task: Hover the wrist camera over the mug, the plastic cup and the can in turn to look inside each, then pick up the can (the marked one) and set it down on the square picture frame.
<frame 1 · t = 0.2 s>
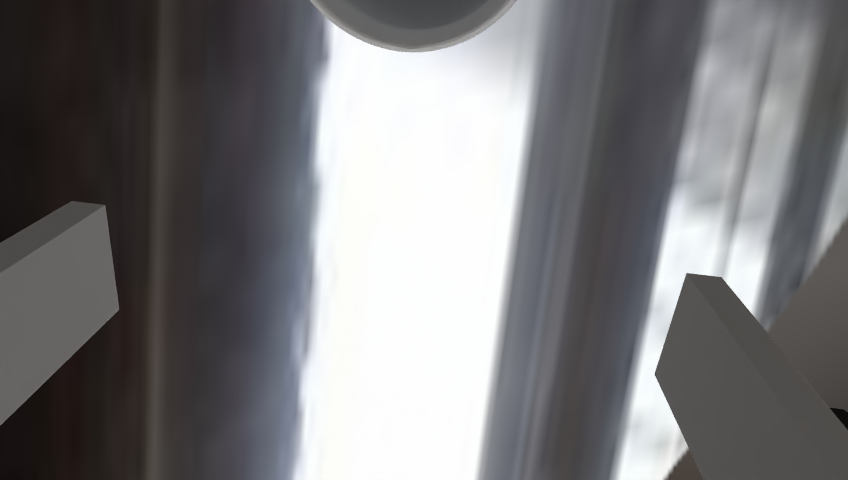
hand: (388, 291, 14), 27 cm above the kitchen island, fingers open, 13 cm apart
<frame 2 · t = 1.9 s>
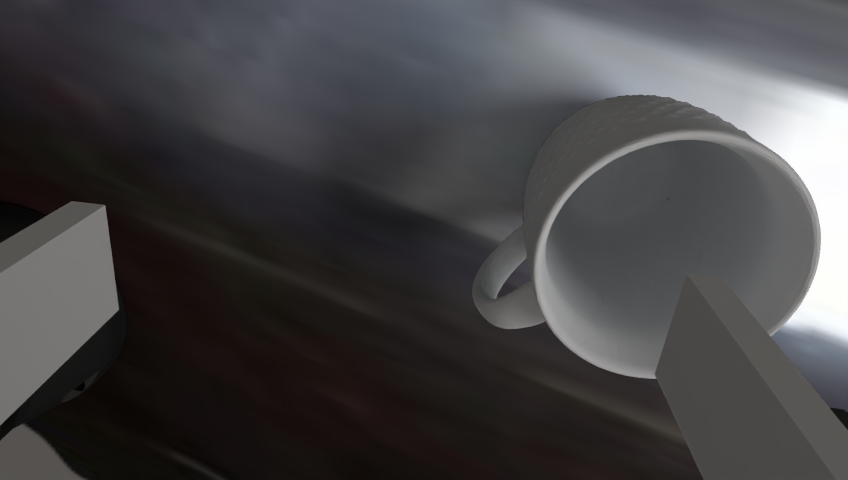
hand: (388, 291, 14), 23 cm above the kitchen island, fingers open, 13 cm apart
mug: (591, 176, 36), on the kitchen island
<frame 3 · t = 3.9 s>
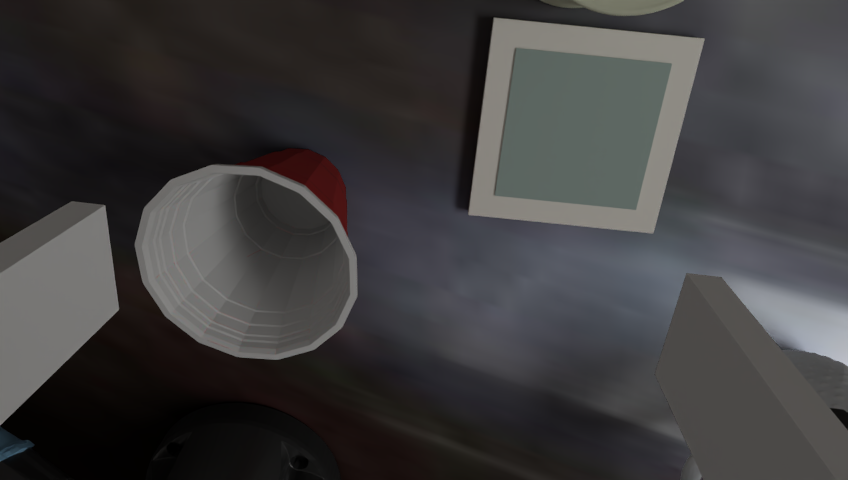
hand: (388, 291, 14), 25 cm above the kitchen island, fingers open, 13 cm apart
mug: (757, 392, 44), on the kitchen island
plastic cup: (302, 192, 40), on the kitchen island
square picture frame: (576, 129, 37), on the kitchen island
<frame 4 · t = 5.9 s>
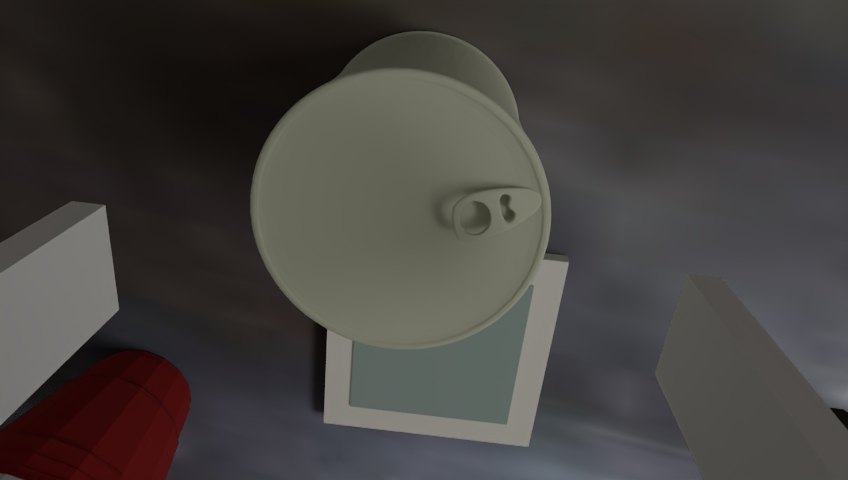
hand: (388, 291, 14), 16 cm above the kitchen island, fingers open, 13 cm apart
plastic cup: (145, 389, 36), on the kitchen island
can: (421, 131, 29), on the kitchen island
square picture frame: (437, 340, 33), on the kitchen island
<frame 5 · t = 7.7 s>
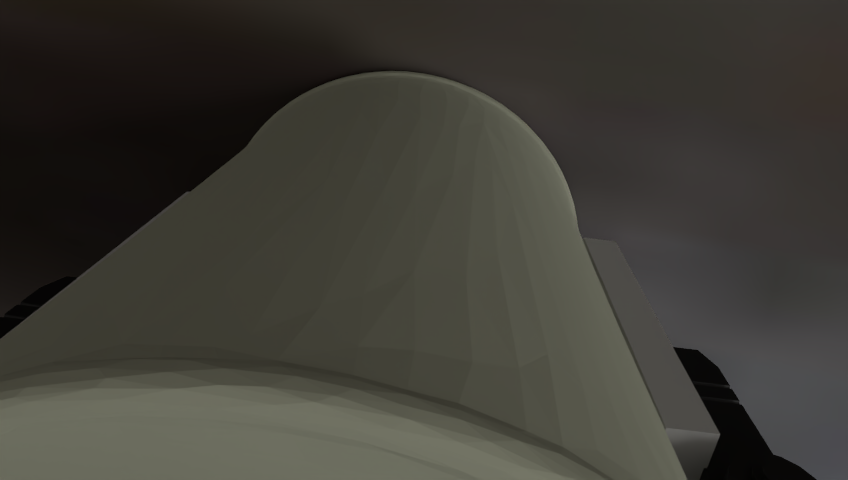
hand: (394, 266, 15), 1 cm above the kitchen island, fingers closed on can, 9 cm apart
can: (399, 246, 16), on the kitchen island, touching gripper
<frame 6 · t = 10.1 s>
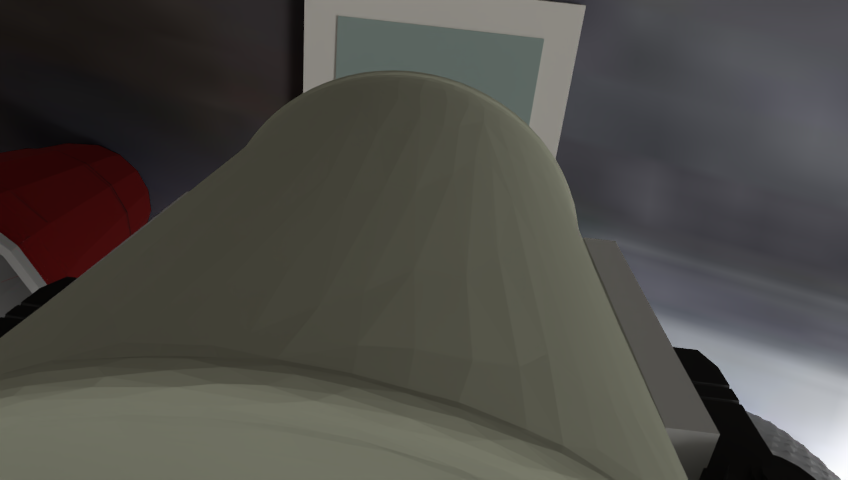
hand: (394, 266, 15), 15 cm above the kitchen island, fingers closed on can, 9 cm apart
mug: (680, 450, 36), on the kitchen island
plastic cup: (100, 198, 32), on the kitchen island
can: (399, 245, 16), point 14 cm above the kitchen island, touching gripper
square picture frame: (431, 124, 29), on the kitchen island
when the fingers open (3 cm above the kitchen island, at t = 12.7 s): can stays where it is, resting on square picture frame.
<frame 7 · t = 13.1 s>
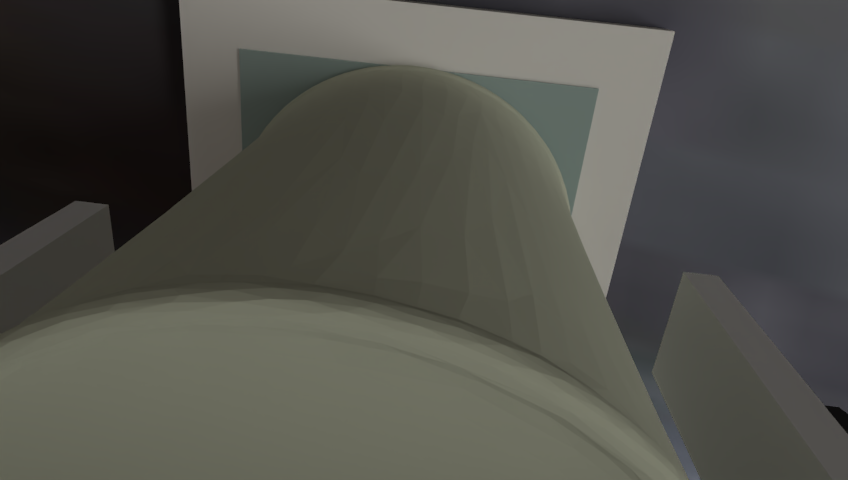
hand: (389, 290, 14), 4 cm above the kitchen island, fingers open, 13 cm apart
can: (402, 231, 17), point 1 cm above the kitchen island, touching square picture frame
square picture frame: (405, 221, 18), on the kitchen island
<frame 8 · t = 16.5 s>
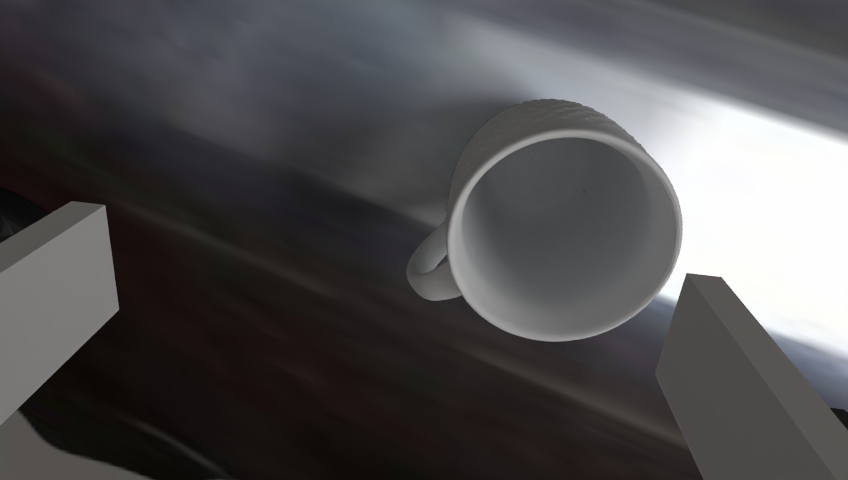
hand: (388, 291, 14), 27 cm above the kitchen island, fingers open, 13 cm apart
mug: (519, 170, 40), on the kitchen island
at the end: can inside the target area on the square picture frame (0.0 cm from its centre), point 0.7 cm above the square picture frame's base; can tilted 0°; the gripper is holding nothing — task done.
